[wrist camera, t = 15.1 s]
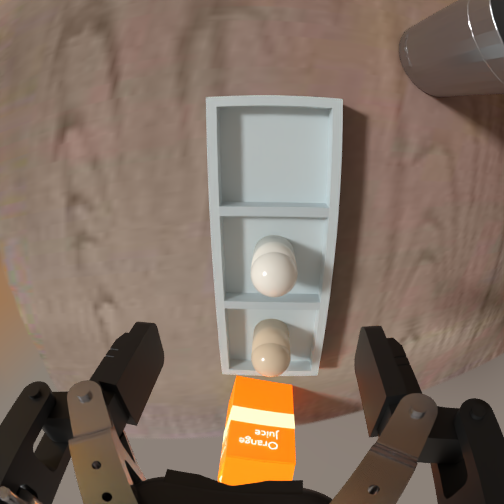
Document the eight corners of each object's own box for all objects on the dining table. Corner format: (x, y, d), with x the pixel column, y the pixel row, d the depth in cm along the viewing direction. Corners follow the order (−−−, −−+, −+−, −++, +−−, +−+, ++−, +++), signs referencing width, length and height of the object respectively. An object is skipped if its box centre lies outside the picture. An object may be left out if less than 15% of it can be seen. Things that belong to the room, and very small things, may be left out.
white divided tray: (336, 101, 28) (342, 99, 26) (315, 361, 42) (317, 375, 39) (211, 100, 29) (205, 97, 26) (224, 359, 42) (222, 373, 39)
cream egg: (295, 235, 33) (301, 262, 27) (293, 272, 35) (297, 306, 29) (252, 234, 34) (248, 261, 27) (253, 272, 35) (249, 306, 29)
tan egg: (290, 318, 38) (293, 356, 31) (288, 346, 39) (290, 384, 33) (253, 318, 38) (249, 356, 31) (253, 345, 40) (250, 384, 33)
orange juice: (236, 374, 43) (220, 493, 25) (292, 384, 44) (297, 501, 25) (228, 404, 46) (212, 510, 28) (279, 413, 47) (278, 517, 28)
